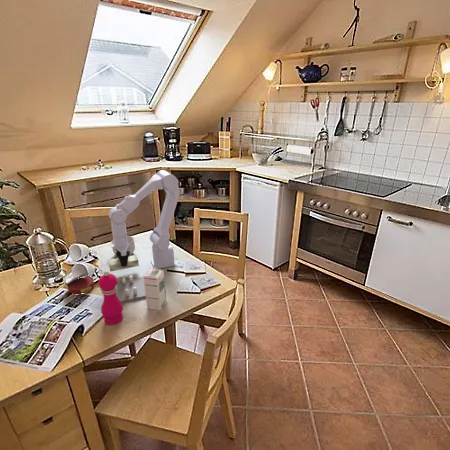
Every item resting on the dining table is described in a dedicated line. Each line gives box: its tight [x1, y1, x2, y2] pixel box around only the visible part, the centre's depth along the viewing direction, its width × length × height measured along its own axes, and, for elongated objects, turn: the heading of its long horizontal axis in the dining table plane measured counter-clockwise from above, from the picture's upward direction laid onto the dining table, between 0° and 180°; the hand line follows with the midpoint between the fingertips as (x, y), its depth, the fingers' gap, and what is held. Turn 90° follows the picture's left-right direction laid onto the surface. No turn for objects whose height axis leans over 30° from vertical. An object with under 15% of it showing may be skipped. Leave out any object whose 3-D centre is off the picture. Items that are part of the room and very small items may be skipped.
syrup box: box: [142, 267, 167, 311], centre depth 117 cm, size 6×6×14 cm
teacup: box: [110, 235, 136, 256], centre depth 156 cm, size 14×11×8 cm
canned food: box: [65, 272, 95, 294], centre depth 128 cm, size 11×10×10 cm
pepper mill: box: [98, 270, 124, 326], centre depth 108 cm, size 7×7×20 cm
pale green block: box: [107, 254, 140, 273], centre depth 137 cm, size 12×5×3 cm, turn 114°
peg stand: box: [116, 274, 146, 304], centre depth 127 cm, size 18×14×4 cm
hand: (123, 262), depth 137 cm, fingers closed on pale green block, 5 cm apart
